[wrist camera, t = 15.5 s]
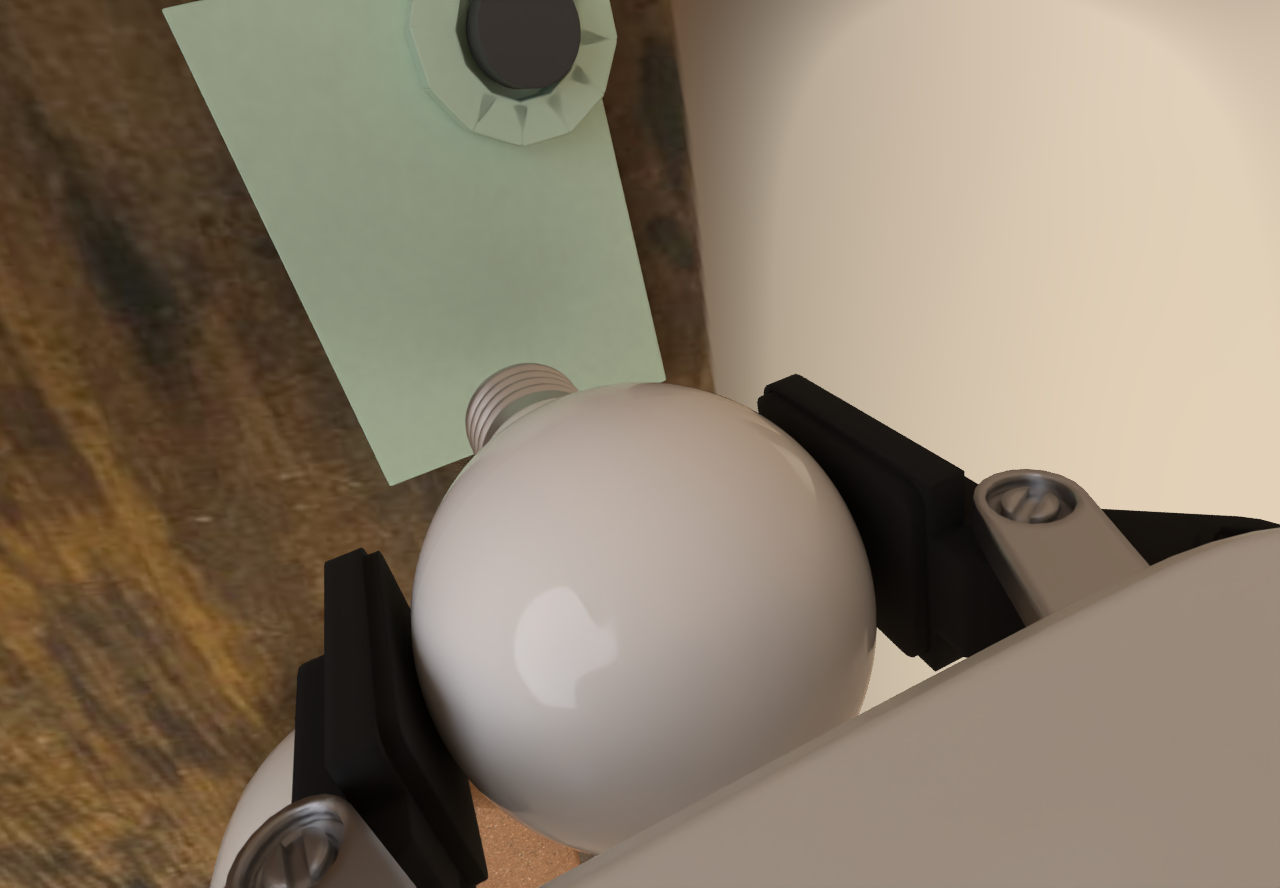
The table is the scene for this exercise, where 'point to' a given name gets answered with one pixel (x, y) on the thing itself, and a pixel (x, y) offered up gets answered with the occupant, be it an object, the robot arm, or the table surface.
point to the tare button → (523, 40)
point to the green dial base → (428, 204)
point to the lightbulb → (633, 602)
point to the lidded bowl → (507, 845)
